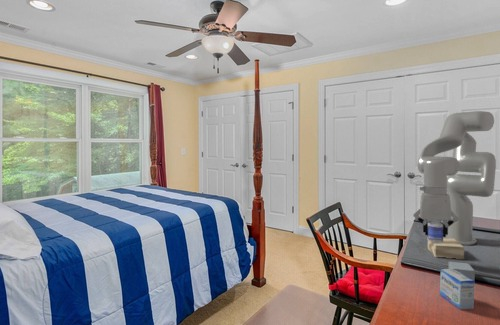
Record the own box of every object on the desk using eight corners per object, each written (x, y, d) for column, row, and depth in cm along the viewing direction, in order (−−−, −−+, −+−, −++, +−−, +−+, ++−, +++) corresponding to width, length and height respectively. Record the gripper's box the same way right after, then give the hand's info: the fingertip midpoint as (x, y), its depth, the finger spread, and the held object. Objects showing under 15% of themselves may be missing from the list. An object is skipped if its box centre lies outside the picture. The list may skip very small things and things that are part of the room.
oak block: (427, 248, 126) (427, 237, 125) (453, 249, 123) (453, 238, 123) (435, 257, 116) (435, 245, 116) (463, 259, 113) (464, 247, 113)
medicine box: (439, 295, 89) (439, 269, 88) (452, 294, 89) (453, 267, 89) (460, 310, 81) (460, 281, 80) (474, 308, 81) (475, 280, 81)
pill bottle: (445, 243, 109) (446, 219, 107) (430, 243, 110) (431, 219, 108) (439, 238, 114) (439, 215, 113) (424, 237, 115) (425, 214, 114)
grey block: (448, 272, 104) (448, 261, 104) (468, 274, 102) (468, 263, 101) (453, 279, 98) (453, 268, 98) (474, 282, 96) (474, 270, 96)
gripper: (409, 191, 111) (410, 235, 113) (463, 193, 102) (463, 241, 104) (410, 187, 118) (410, 229, 119) (461, 189, 109) (460, 234, 110)
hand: (435, 234), depth 112 cm, fingers closed on pill bottle, 5 cm apart
